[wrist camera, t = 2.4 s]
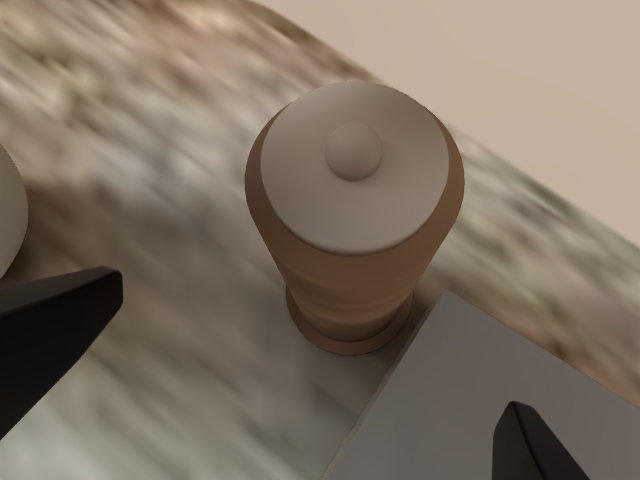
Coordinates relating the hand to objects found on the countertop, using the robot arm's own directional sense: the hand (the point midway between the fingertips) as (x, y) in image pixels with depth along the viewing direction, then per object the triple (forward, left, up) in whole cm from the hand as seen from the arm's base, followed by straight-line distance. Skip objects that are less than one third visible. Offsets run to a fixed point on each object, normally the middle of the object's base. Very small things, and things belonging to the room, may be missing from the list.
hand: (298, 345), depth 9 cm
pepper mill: (+2, -4, -11) cm, 12 cm away
